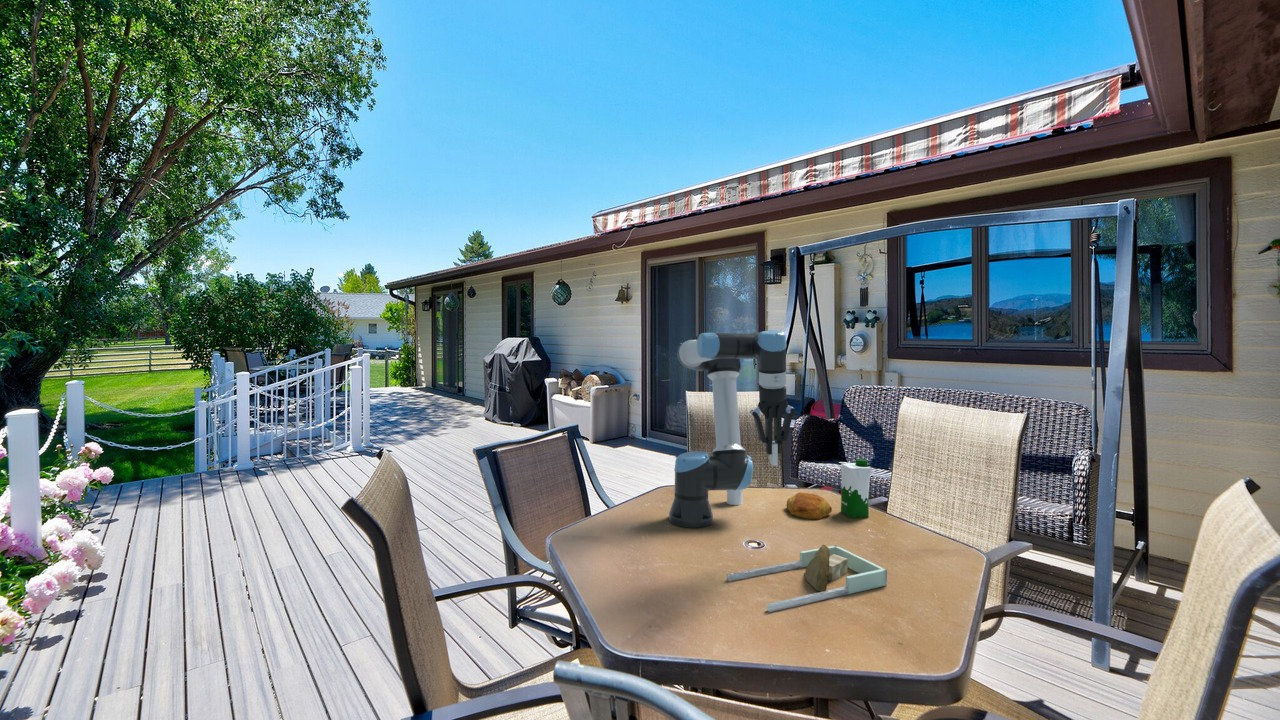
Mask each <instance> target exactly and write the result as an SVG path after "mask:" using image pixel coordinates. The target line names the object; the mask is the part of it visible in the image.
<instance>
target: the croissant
mask: <svg viewBox="0 0 1280 720" xmlns="http://www.w3.org/2000/svg"><path fill="white" fill-rule="evenodd" d="M786 509H787V511H789V513H790V515H792V516H794V517H797V518H802V519H808V520H810V519H811V520H813V519H814V520H815V519H816V520H822V519H823V518H825V517H828V516H829V515H830V514H831V513H832V509H833V508H832V506H831V505H830V503H828V501H827V500H826V499H825V498H824V497H822V496H819V495H818V494H814V493H807V492H806V493H805V492H796V494H794V495H793V496H791V497H788V498H787V501H786Z"/></svg>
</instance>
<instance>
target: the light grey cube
mask: <svg viewBox="0 0 1280 720" xmlns="http://www.w3.org/2000/svg"><path fill="white" fill-rule="evenodd" d="M829 562H830V563H829V576H828V581H830V582H834V581H835V580H837V579H839V578H841V577H840V562H837V561H834V560H831V559H829Z"/></svg>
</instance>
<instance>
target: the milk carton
mask: <svg viewBox="0 0 1280 720" xmlns="http://www.w3.org/2000/svg"><path fill="white" fill-rule="evenodd" d="M868 462H869V461H868V459H866V458H856V459H855V462H853V463H852V462H848V463H840V465H841V466H840V467H841V492H840V493H841V494H840V496H841V498H840V512H842V514H844V515H846V516H847V517H848V518H850V519H851V518H857V519H858V518H869V513H870V511H869V507H870V506H869V505H870V502H869V501H870V479H871V473H872V467H870V466H869V465H868V464H869V463H868Z"/></svg>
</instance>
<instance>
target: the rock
mask: <svg viewBox="0 0 1280 720" xmlns="http://www.w3.org/2000/svg"><path fill="white" fill-rule="evenodd" d="M828 547H829V546H827V545H825V544H822V545H821V546H820V547H819V550H818V551H817V552H816V554H815V555H814V557H813V559H812V560H811V561H810V562H809V564H808V566H807V567H806V569H805V571H804V573H803V574H804V578H805V580H806V581H807V583H809V584H810V585H811V587H814V588H815V590H816V591H817V592H823V591H827V587H828V584H829V580H828V576H829V563H830V562H829V556H830V550H829V548H828Z"/></svg>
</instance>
